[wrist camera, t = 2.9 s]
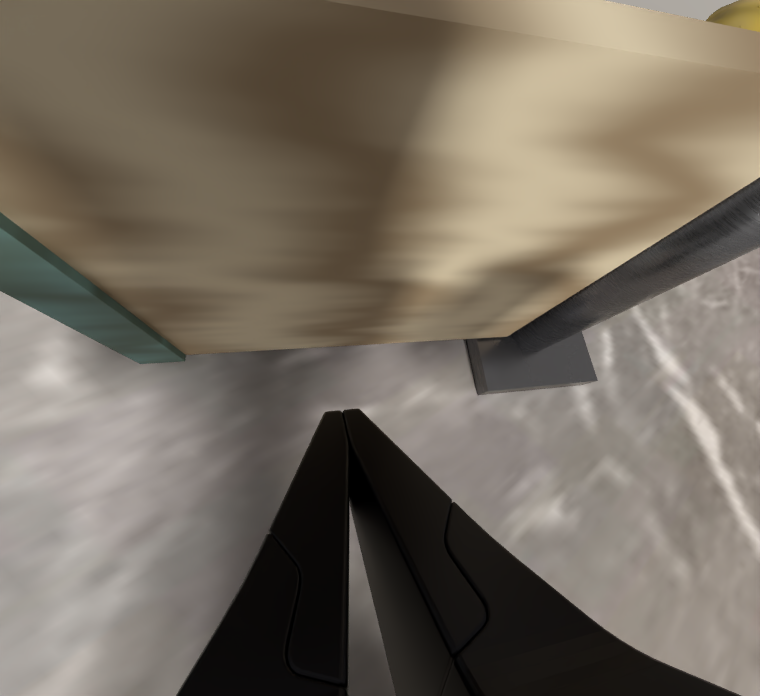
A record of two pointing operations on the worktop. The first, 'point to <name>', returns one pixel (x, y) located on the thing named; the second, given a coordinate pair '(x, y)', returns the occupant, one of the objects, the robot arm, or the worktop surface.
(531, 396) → the worktop surface
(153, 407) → the worktop surface
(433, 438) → the worktop surface
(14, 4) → the gate
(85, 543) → the worktop surface
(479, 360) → the hinge post
